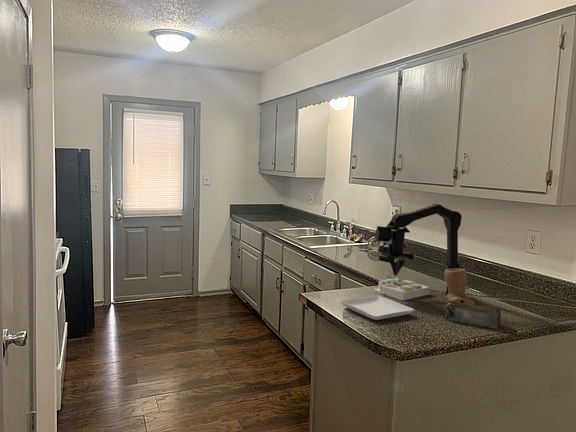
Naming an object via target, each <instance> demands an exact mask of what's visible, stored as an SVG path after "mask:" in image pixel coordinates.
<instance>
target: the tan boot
mask: <svg viewBox="0 0 576 432" xmlns="http://www.w3.org/2000/svg"><path fill="white" fill-rule="evenodd" d="M443 276H444V280H445V284H446V288H447V287H448V291H449V294H447V295H446V299H447V300H448V301H449V302H450V301H451V302H456V303H462V304H468V305H474V306H475V302H474V301H473V300H472V299H471V298H470V296H468V295H466V287H467V284H468V272H467V270H466V269H465V268H461V269H446V270H445V271H444V272H443Z"/></svg>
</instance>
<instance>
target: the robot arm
mask: <svg viewBox="0 0 576 432" xmlns="http://www.w3.org/2000/svg"><path fill="white" fill-rule="evenodd" d="M436 214H437V215H438V216H440V217H441V218H443V223H444V226H445V229H446V261H445V263H442V273H444V271H445V270H446V269H462V268H461V265H460V263H459V237H458V236H459V228H460V227H461V223H462V219H463V218H462V214H461V213H460V212H459V211H455V210H451V209H450V208H446V207H445V206H444V205H442V204H438V203H433V204H432V205H428V206H425V207H423V208H422V207H421V208H420V209H416V210H413V211H411V212H410V211H409V212H401V213H395V214H394V215H392V216H391V220H390V221H389V223H388V224H387V225H386V226H379V225H377V226H376V229H375V231H374V239H375V242H389V243H388V246H384V245H378V253H379V254H380V255H379V256H378V261H379V262H385V263H388V264H390V265H391V269H392V273H393V275H394V276H395V277H396V276H398V274H399V272H400V271H401V269H402V268H403V266H404V265H405V263H407V261H406V260H405V259H408V260H409V261H411V260H414V259H415V255H414V253H413V252H410V251H404V250H405V248H407V244H406V243H405V240H406V239H405V236H406V233H410V230H409V228H407V226H409V225H411V224H412V223H413V222H415V221H418V220H422V219H424V218H426V217H430V216H433V215H436ZM447 294H449V291H448V287H447V286H446V290H445V293H444V295H446V296H447Z"/></svg>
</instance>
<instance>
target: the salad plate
mask: <svg viewBox="0 0 576 432" xmlns="http://www.w3.org/2000/svg"><path fill="white" fill-rule="evenodd" d="M340 303H341V305H342V306H343V307H345V308H347V309H348V310H351V311H353V312H355V313H357V314H359V313H360V315H361V316H364V317H366V318H369V319H371V320H375V321H379V320H380V321H381V320H385V319H392V318H396V317H397V318H398V317H401V316H402V317H403V316H406V315H409V314H412V313H413V312H414V311H415V309H414V308H412V307H410V306H407V305H404V304H402V303H399V302H397V301H395V300H392V299H390V298H386V297H384V296H381V295H379V294H377V295H369V296H362V297H356V298H349V299H343V300H340Z"/></svg>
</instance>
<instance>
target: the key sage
mask: <svg viewBox="0 0 576 432" xmlns="http://www.w3.org/2000/svg"><path fill="white" fill-rule="evenodd" d="M400 282H404V283H407V285H408V284H413V283H416V282H415V281H412V280H408V279H406V280H405V279H403V280H401V281H400Z"/></svg>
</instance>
